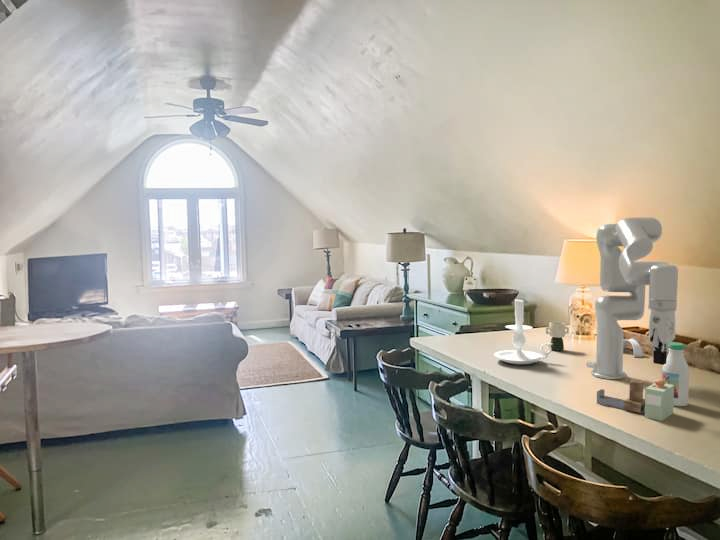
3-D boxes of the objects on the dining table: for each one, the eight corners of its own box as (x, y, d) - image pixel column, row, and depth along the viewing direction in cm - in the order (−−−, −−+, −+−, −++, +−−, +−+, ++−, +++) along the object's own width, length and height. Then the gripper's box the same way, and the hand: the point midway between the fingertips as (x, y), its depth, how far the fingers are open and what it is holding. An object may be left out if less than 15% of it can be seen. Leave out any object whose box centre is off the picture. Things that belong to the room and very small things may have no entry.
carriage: (623, 409, 175) (624, 381, 174) (631, 404, 179) (632, 378, 179) (640, 412, 171) (641, 385, 171) (647, 408, 176) (648, 381, 175)
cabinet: (644, 417, 168) (644, 388, 168) (655, 409, 176) (656, 381, 175) (661, 421, 165) (662, 392, 164) (673, 413, 172) (674, 385, 171)
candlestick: (559, 368, 228) (560, 301, 226) (498, 368, 229) (499, 301, 227) (545, 357, 248) (546, 295, 246) (490, 356, 250) (490, 295, 248)
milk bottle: (678, 399, 186) (680, 341, 184) (693, 406, 178) (695, 345, 177) (656, 400, 186) (658, 341, 184) (669, 407, 178) (672, 346, 176)
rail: (596, 403, 182) (596, 391, 182) (601, 400, 185) (601, 389, 185) (648, 414, 171) (648, 402, 171) (652, 411, 173) (652, 399, 173)
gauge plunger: (652, 402, 170) (653, 380, 170) (655, 399, 172) (656, 378, 172) (663, 404, 168) (663, 382, 168) (666, 402, 170) (667, 380, 170)
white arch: (595, 347, 269) (596, 333, 268) (617, 346, 271) (617, 331, 271) (628, 358, 246) (628, 342, 245) (651, 357, 248) (651, 341, 247)
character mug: (565, 348, 266) (566, 321, 265) (571, 351, 259) (571, 324, 258) (543, 348, 266) (543, 322, 265) (547, 351, 259) (548, 324, 258)
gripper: (667, 309, 160) (664, 371, 162) (683, 303, 171) (680, 361, 172) (640, 306, 166) (637, 366, 167) (657, 300, 176) (655, 356, 178)
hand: (659, 363), depth 170 cm, fingers closed
